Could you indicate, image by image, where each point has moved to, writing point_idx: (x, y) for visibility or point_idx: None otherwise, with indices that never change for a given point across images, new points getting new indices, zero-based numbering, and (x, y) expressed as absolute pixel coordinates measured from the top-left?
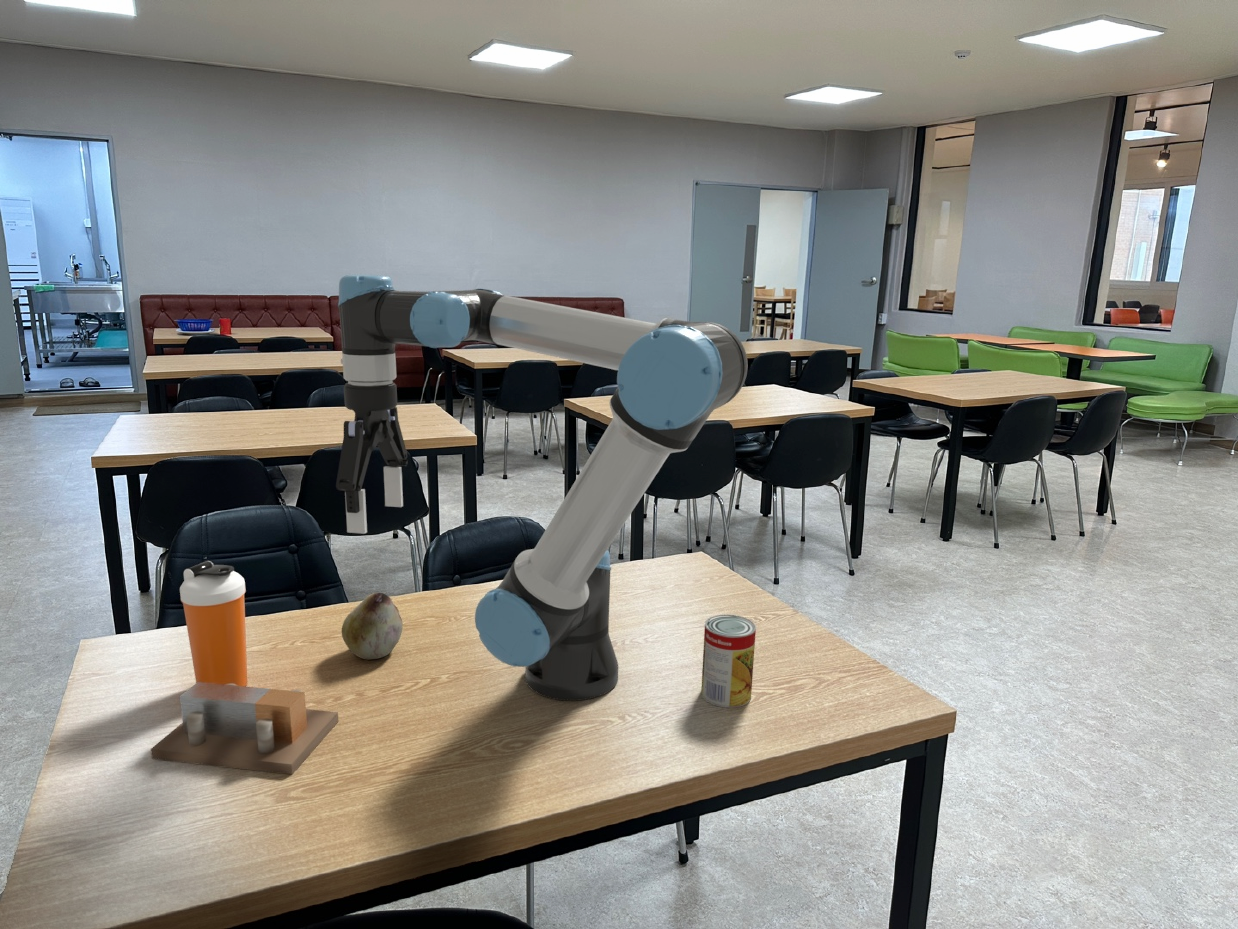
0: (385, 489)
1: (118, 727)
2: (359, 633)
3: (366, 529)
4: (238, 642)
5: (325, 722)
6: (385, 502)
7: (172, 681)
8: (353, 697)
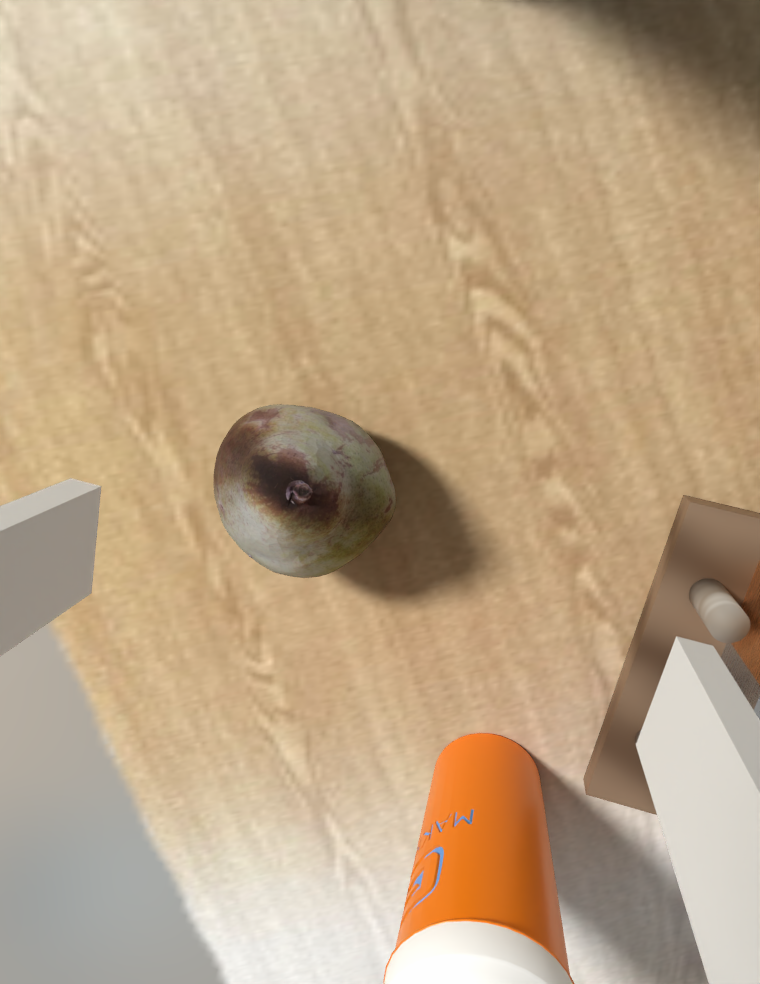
0: (10, 642)
1: (641, 922)
2: (382, 519)
3: (689, 648)
4: (513, 824)
5: (740, 522)
6: (76, 601)
7: None
8: (560, 481)
